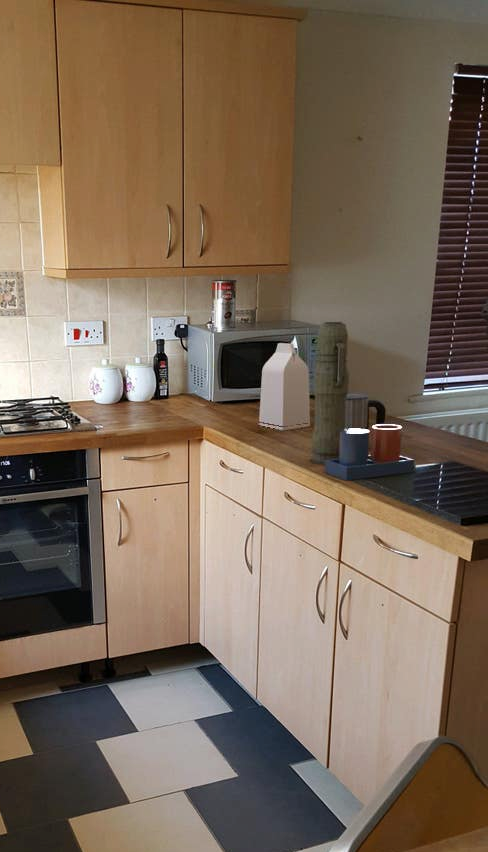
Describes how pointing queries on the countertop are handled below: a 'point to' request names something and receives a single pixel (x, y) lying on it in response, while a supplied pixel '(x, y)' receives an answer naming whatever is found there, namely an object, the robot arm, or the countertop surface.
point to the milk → (285, 390)
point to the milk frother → (362, 411)
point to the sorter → (369, 468)
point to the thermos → (330, 390)
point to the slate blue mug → (353, 447)
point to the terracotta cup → (386, 443)
